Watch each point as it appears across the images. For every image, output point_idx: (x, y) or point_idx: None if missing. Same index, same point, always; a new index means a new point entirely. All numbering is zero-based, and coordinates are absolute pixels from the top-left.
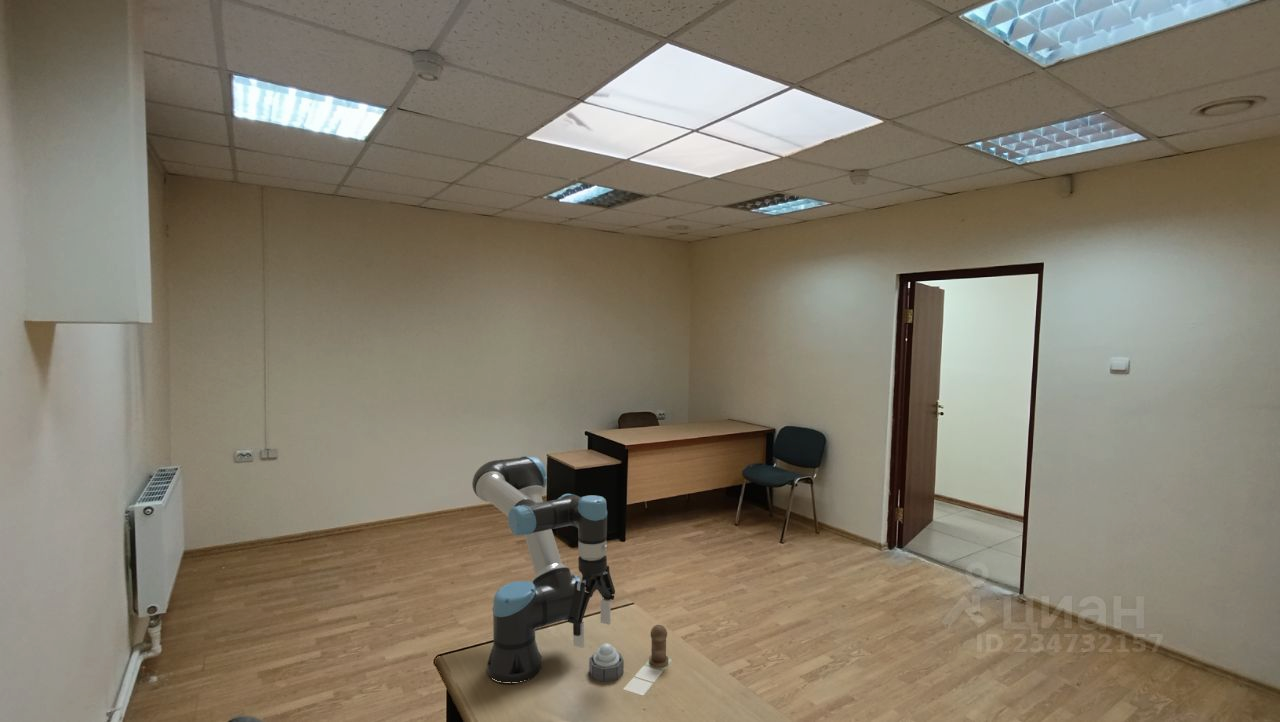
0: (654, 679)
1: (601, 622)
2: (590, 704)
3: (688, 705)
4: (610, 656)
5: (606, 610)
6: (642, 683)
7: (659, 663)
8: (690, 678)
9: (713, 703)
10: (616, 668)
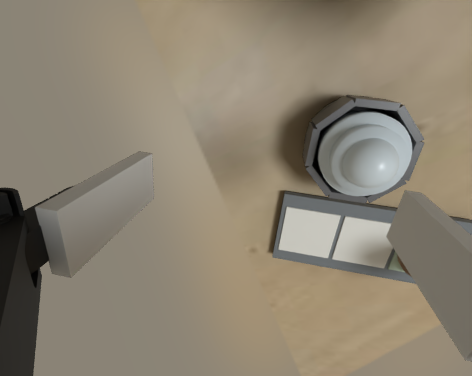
0: (344, 258)
1: (404, 195)
2: (226, 149)
3: (289, 311)
4: (340, 185)
5: (429, 276)
6: (321, 239)
7: (404, 265)
8: (379, 308)
9: (307, 341)
10: (325, 194)
